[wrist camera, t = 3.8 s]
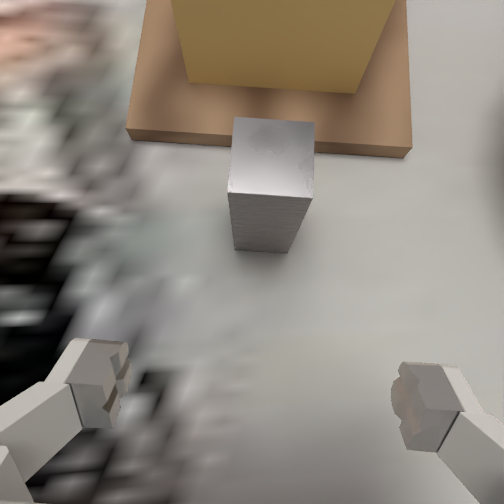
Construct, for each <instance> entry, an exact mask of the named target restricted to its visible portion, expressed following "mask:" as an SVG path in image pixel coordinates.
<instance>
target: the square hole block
mask: <svg viewBox="0 0 504 504" xmlns="http://www.w3.org/2000/svg"><path fill="white" fill-rule="evenodd" d="M394 2H395V0H171V4H172V9H173V13H174V18H175V22H176V27H177V31H178V36H179V40H180V45H181V49H182V54H183V58H184V63H185V67H186V72H187V76H188V81H189V83H200V84H215V85H230V86H245V87H260V88H275V89H290V90H305V91H320V92H335V93H350V94H355V92H356V90H357V88H358V85H359V83H360V81H361V79H362V76H363V74H364V72H365V69H366V67H367V65H368V62H369V60H370V58H371V55H372V53H373V51H374V49H375V46H376V44H377V42H378V39H379V37H380V35H381V32H382V30H383V28H384V25H385V23H386V21H387V19H388V16H389V14H390V12H391V9H392V7H393V5H394Z"/></svg>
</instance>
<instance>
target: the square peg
mask: <svg viewBox="0 0 504 504" xmlns="http://www.w3.org/2000/svg"><path fill="white" fill-rule="evenodd" d="M314 142H315V122H305V121H290V120H275V119H260V118H245V117H234V124H233V136H232V147H231V158H230V169H229V181H228V200H229V208H230V215H231V223H232V231H233V238H234V246H235V250H244V251H258V252H273V253H288V251H289V249H290V247H291V245H292V242H293V240H294V238H295V236H296V234H297V231H298V229H299V227H300V225H301V223H302V221H303V218H304V216H305V214H306V212H307V210H308V207H309V205H310V203H311V201H312V199H313V176H314Z"/></svg>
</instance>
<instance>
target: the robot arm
mask: <svg viewBox="0 0 504 504" xmlns="http://www.w3.org/2000/svg"><path fill="white" fill-rule="evenodd" d="M128 352H129V349H128V344H127V343H125V342H118V341H107V340H97V339H83V338H74V339H73V340H72V341H70V343H69V344H68V346H67V347H66V349H65V351H64V352H63V354H62V355H61V357H60V358H59V360H58V361H57V363H56V364H55V366H54V368H53V369H52V371H51V372H50V374H49V375H48V377H47V378H46V380H45V381H44V382H38V383H36V384H35V385H33V386H31V387H30V388H28V389H27V390H25V391H24V392H22V393H20V394H19V395H17V396H16V397H14V398H12V399H11V400H9V401H8V402H6V403H5V404H3V405H1V406H0V504H45V503H34V502H33V498H32V496H31V494H30V492H29V490H28V488H27V486H26V484H25V482H26V481H27V480H28V479H29V478H30V477H32V476H33V475H34V474H35V473H36V472H37V471H38V470H39V469H40V468H41V467H42V466H43V465H44V464H45V463H46V462H48V461H49V460H50V459H51V458H52V457H53V456H54V455H55V454H56V453H57V452H58V451H59V450H60V449H61V448H62V447H64V446H65V445H66V444H67V443H68V442H69V441H70V440H71V439H72V438H73V437H74V436H75V435H76V434H77V433H78V432H80V431H81V430H82V427H93V428H113V426H114V423H115V421H116V418H117V416H118V413H119V411H120V408H121V406H120V400H119V399H120V398H122V397H123V396H124V395H126V393H127V390H128V388H129V385H130V380H131V370H132V368H131V362H130V361H129V360H128V359H127V358H126V357H127V355H128ZM398 372H399V375H400V377H399V378H397V379H396V380H394V382H393V385H392V388H391V401H392V406H393V410H394V413H395V414H396V415H397V416H398V417H399V418H400V419H401V420H402V422H401V425H400V427H399V428H400V431H401V434H402V437H403V440H404V443H405V446H406V449H407V450H416V451H426V452H435V453H437V455H438V456H439V457H440V458H441V460H442V461H443V462H444V463H445V464H446V465H447V466H448V467H449V469H450V470H451V471H452V472H453V473H454V474H455V475H456V477H457V478H458V479H459V480H460V481H461V482H462V483H463V485H464V486H465V487H466V488H467V489H468V490H469V491H470V493H471V494H472V495H473V496H474V497H475V498H476V499H477V501H478V502H479V503H480V504H504V424H503V423H501V422H500V421H499V420H497V419H496V418H495V417H494V416H492V415H491V414H485V412H484V411H483V409H482V407H481V405H480V404H479V402H478V400H477V398H476V397H475V395H474V393H473V391H472V390H471V388H470V386H469V385H468V383H467V381H466V379H465V378H464V376H463V374H462V372H461V371H460V369H459V368H458V367H457V366H456V365H448V364H433V363H417V362H402V363H401V364H400V366H399V369H398Z"/></svg>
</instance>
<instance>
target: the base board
mask: <svg viewBox="0 0 504 504" xmlns="http://www.w3.org/2000/svg"><path fill="white" fill-rule="evenodd" d="M234 117H245V118H260V119H275V120H290V121H305V122H315V142H314V152H322V153H337V154H352V155H366V156H381V157H396V158H404V157H405V156H406V154H407V153H408V152H409V151H410V150H411V149H412V126H411V103H410V80H409V56H408V33H407V10H406V0H395V2H394V5H393V7H392V9H391V12H390V14H389V16H388V19H387V21H386V23H385V25H384V28H383V30H382V32H381V35H380V37H379V39H378V42H377V44H376V46H375V49H374V51H373V53H372V55H371V58H370V60H369V62H368V65H367V67H366V69H365V72H364V74H363V76H362V79H361V81H360V83H359V85H358V88H357V90H356V92H355V94H350V93H335V92H320V91H305V90H290V89H275V88H260V87H245V86H230V85H215V84H200V83H189V81H188V76H187V72H186V67H185V63H184V58H183V54H182V49H181V45H180V40H179V36H178V31H177V27H176V22H175V18H174V13H173V9H172V4H171V0H147V3H146V9H145V15H144V21H143V27H142V33H141V39H140V45H139V51H138V57H137V63H136V69H135V75H134V81H133V87H132V93H131V99H130V105H129V110H128V116H127V122H126V130H127V132H128V134H129V135H130V137H131V139H132V140H143V141H158V142H172V143H187V144H202V145H217V146H232V136H233V124H234Z"/></svg>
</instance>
